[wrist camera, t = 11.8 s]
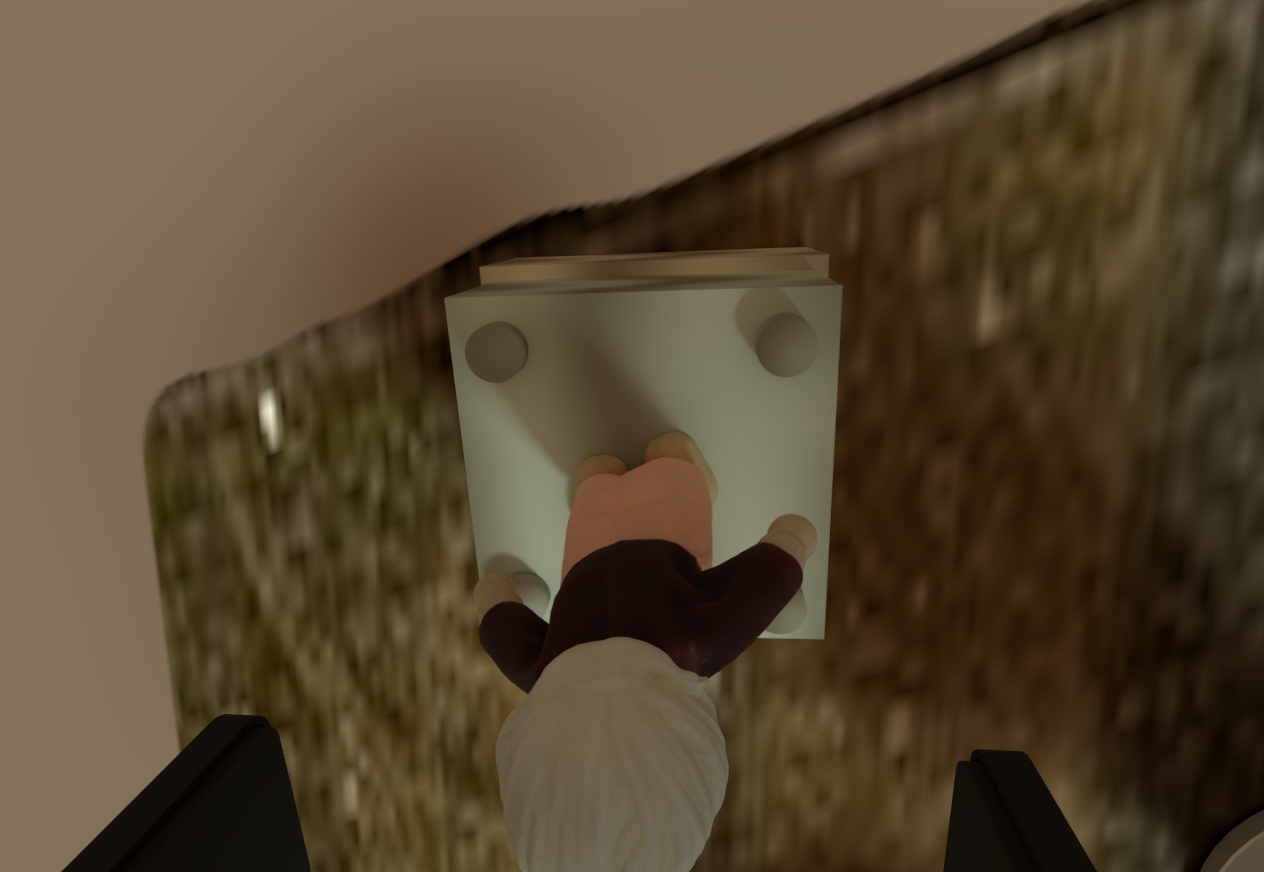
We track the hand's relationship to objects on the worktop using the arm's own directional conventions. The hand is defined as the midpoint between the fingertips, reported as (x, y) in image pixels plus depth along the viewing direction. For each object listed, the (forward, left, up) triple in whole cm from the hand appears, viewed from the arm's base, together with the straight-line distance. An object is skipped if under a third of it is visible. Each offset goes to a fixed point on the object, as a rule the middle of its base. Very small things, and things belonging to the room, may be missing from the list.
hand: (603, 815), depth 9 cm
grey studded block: (0, 0, -22) cm, 22 cm away
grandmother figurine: (0, 0, -12) cm, 12 cm away
